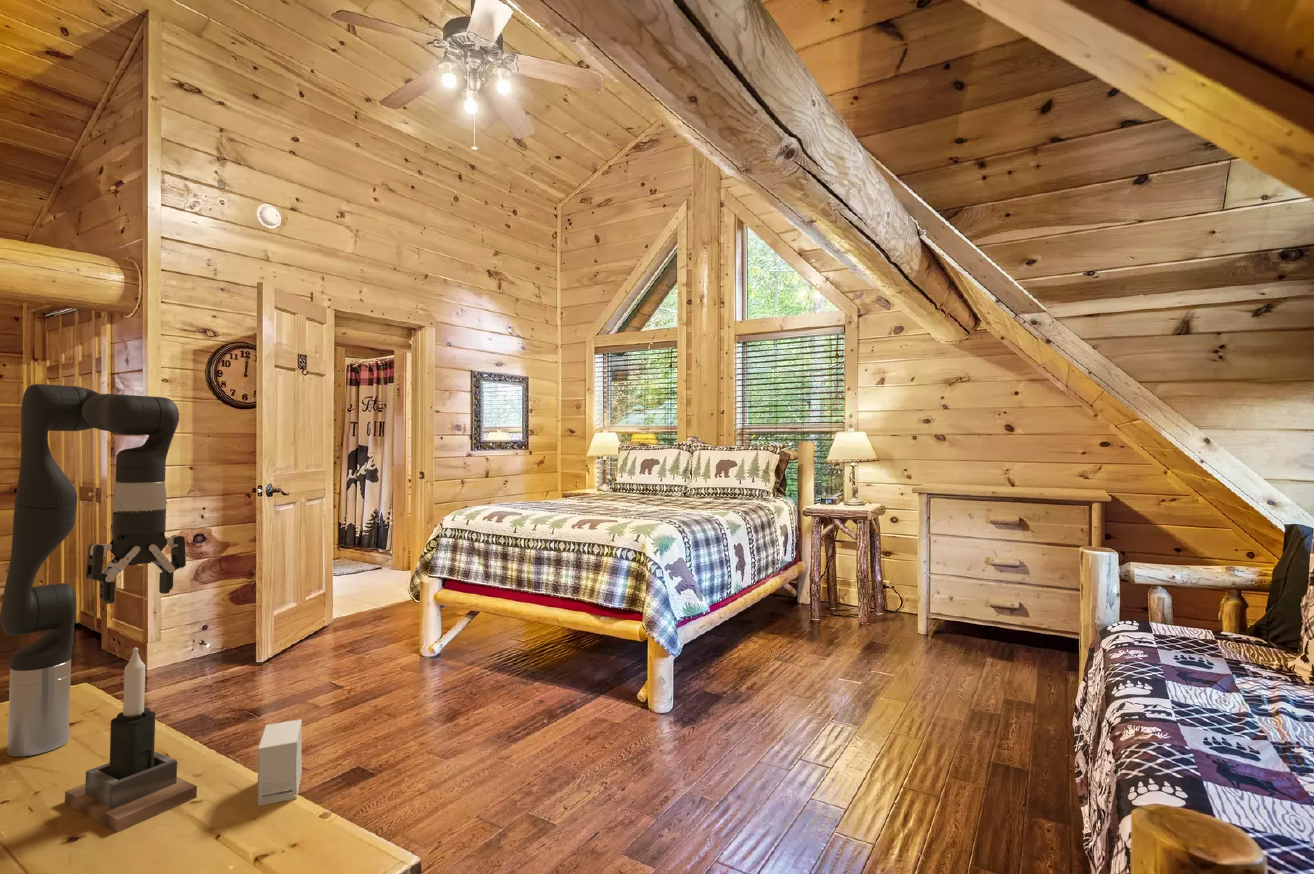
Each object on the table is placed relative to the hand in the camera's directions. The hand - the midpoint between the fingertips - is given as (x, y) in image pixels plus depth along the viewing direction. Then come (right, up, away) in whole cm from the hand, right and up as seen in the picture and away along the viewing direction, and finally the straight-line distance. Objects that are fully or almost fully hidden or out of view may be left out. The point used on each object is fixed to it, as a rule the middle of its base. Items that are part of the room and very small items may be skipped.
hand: (137, 597), depth 116 cm
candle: (-1, -34, 0) cm, 34 cm away
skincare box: (+23, -37, +4) cm, 44 cm away
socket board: (-1, -36, 0) cm, 36 cm away
